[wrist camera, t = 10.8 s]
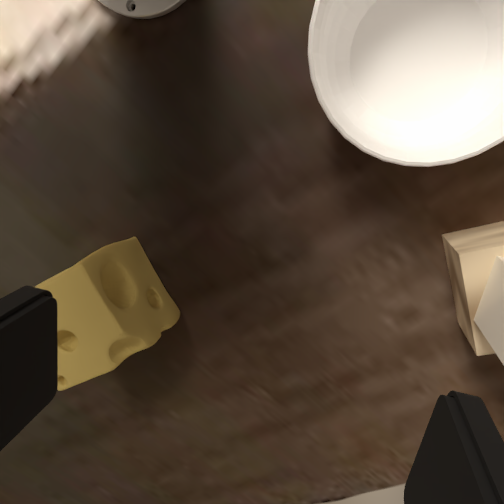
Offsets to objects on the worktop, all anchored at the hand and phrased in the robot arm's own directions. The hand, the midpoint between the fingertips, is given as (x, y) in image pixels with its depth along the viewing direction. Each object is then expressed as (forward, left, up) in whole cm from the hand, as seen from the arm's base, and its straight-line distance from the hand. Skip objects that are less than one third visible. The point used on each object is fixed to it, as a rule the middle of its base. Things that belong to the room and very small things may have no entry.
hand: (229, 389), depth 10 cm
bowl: (-12, +6, -31) cm, 33 cm away
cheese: (+15, -18, -31) cm, 39 cm away
